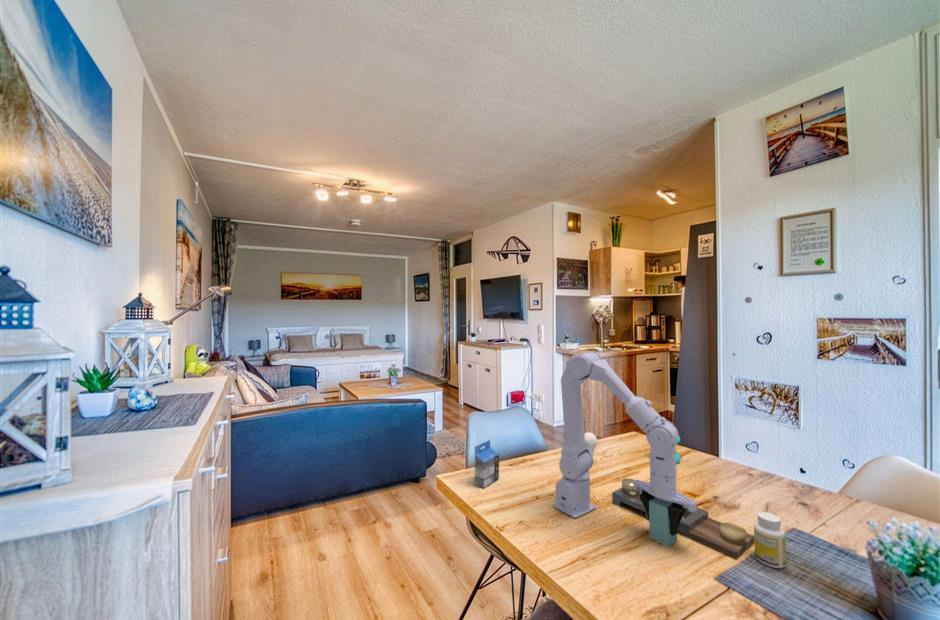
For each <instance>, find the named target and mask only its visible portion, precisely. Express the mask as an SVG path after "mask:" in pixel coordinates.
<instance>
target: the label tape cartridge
mask: <svg viewBox="0 0 940 620" xmlns="http://www.w3.org/2000/svg"><path fill="white" fill-rule="evenodd" d="M499 480H500V454H499V453H498V452H496V451H495V450H494V449H493V448H492V447H491V440H490V439H489V440H486V441H485V442H483V443H481V444H478V445H476V446H474V486H475V487H478V488H481V489H486V488H487V487H489V486H490V485H492V484H493V483H495V482H496V481H499Z"/></svg>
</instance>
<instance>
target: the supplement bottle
mask: <svg viewBox="0 0 940 620" xmlns="http://www.w3.org/2000/svg"><path fill="white" fill-rule="evenodd" d="M781 522H782V521H781V518H780V517H779V516H777V515H775V514H773V513H770V512H762V511H760V512H758V513H757V522H755V523H754V525H753V530H754V531H753V533H754V535H753V536H754V543H753V544H754V557H755V559H756V560H757V561H758V562H760V563H761V564H763V565H764V566H768V567H770V568H772V569H783V568H785V567H786V565H787V562H786V559H787V556H786V554H787V553H786V533H785V531H784V530H783V529H782V528H781V525H782V524H781Z"/></svg>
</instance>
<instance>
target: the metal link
mask: <svg viewBox="0 0 940 620" xmlns="http://www.w3.org/2000/svg"><path fill="white" fill-rule="evenodd" d="M635 480H636V479H634V478H623V479H622V480H621V487H620V488H619V489H616V490H614V491H612V493H611V494H612V495H611V501H612V502H611V503H612V504H614V505H616V506H619V507H622V506H624V505H625V504H626V505H628V506H630V507H632V508H635V509H637V510H639V511H642V512H644V513H646V510H645V507H644V505H643V503H642V502H641V500H640V497H639V495H641V494H642V491H641V490H639V489H638V490H635V489H633V481H635ZM686 513H689V514H691V515H689V516H688V517H686V518H685V517H682V519H681V521H680V524H679V527H680V528H682V529H684V530H686V531H688V532H689V531H691V530H692V529H693V528H695V527H696V526H697V525H699V524H700V523H702V522H703V521H704V520H706V519H707V518H709V511H708V510H705V509H702V508H699V507H697V510H696V511H695V512H693V513H692V512H690V511H688V509H687V510H686Z"/></svg>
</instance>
